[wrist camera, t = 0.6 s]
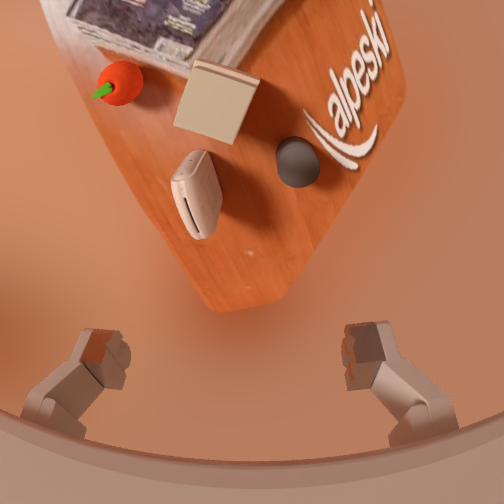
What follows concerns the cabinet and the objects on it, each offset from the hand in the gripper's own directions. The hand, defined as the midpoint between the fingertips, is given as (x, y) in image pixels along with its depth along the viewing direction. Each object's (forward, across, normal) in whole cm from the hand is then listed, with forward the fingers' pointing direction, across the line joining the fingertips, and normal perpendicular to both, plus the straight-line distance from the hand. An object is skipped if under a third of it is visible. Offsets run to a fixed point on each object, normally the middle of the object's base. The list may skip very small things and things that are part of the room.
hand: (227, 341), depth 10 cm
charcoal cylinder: (+40, -6, +8) cm, 41 cm away
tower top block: (+35, +5, -3) cm, 36 cm away
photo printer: (+40, +9, +10) cm, 43 cm away
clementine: (+40, +19, -8) cm, 45 cm away
